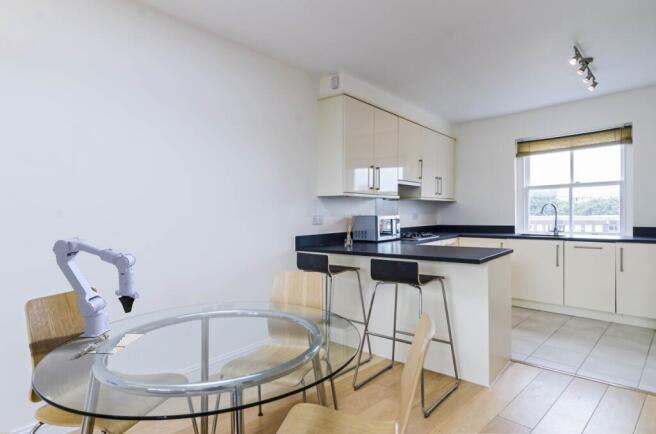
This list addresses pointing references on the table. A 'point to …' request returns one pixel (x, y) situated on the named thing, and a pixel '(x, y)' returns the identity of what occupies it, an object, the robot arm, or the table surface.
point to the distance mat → (123, 342)
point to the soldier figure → (95, 345)
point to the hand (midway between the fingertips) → (127, 312)
